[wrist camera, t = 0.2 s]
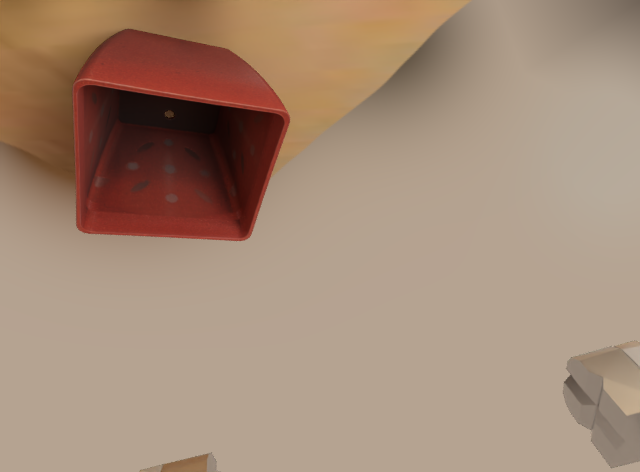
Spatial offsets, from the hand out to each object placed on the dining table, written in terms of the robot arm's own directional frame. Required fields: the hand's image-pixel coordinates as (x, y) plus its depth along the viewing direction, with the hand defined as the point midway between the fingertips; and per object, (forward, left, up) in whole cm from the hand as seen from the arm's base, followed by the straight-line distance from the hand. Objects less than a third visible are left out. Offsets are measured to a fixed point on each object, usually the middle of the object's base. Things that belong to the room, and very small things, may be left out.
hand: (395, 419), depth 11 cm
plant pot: (+24, +5, -52) cm, 57 cm away
